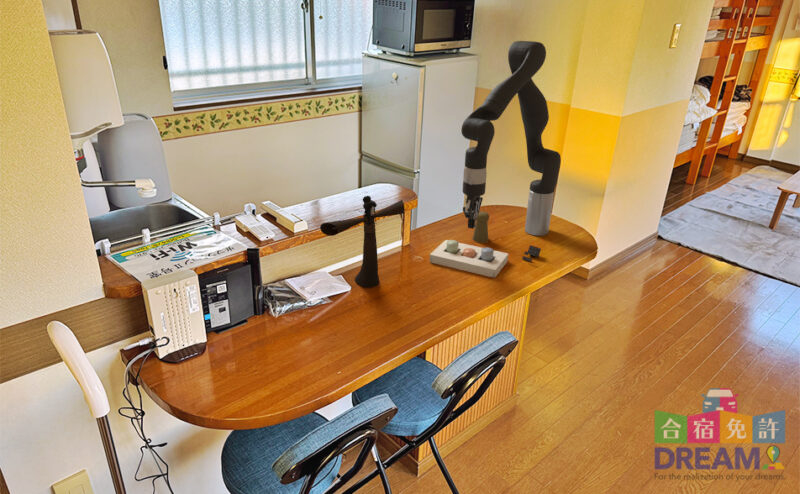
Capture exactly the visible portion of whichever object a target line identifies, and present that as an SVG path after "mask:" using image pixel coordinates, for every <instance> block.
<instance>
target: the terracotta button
mask: <svg viewBox="0 0 800 494" xmlns="http://www.w3.org/2000/svg"><path fill="white" fill-rule="evenodd" d="M475 252H476V251H475V250H474V249H472V248H466V249H464V250H463V255H462V256H465V257H470V258H474V257H475V256H476V255H475Z"/></svg>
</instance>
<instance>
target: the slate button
mask: <svg viewBox="0 0 800 494" xmlns="http://www.w3.org/2000/svg"><path fill="white" fill-rule="evenodd" d="M481 248H482V249H481V258H480V260H483V261H487V262H492V261H493V260H494V259H493V253H494V251H495V250H494V249H493V248H491V247H481Z"/></svg>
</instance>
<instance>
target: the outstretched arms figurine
mask: <svg viewBox="0 0 800 494" xmlns="http://www.w3.org/2000/svg"><path fill="white" fill-rule="evenodd" d="M362 202H363V204H362V207H363V209H364V213H363V216H362V217H356V218H349V219H348V218H347V219H342V220H334V221H329V222H323V223H321V224H320V226H319V229H320V231H321V233H322V234H324V235H326V236H329V237H333V236H336V235H338V234H340V233H342V232H344V231H347V230H349V229H351V228H353V227H356V226H357V225H360V224H361V223H363V245H362V250H363V252H362V262H361V263H362V264H361V267H360V270H359V272H358V273H357V274H356V276H354V281H355V282H356V284H357V285H359V286H360V287H363V288H375V287H377V286H379V285H380V283H381V282H380V278H379V264H378V261H379V260H378V244H377V235H376V230H377V229H376V222H377V218H384V217H389V216H390V217H391V216H397V215H403V214H405V211H406V209H405V202H404V201H403V200H402V199H401V200H399V201H396V202H395V203H393V204H391V205H389V206H387V207H384V208H382V209H381V210H378V211H377V212H376V207H377V204H378V203H377V202H376V201H374V200H373V199H372V198H371V195H364V197H363V198H362Z"/></svg>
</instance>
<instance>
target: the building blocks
mask: <svg viewBox="0 0 800 494" xmlns="http://www.w3.org/2000/svg"><path fill="white" fill-rule="evenodd" d="M541 250H542V248H541V247H537V246H534V245H532V244H530V245H529V247H528V250H527V251H524V253H523V254H524V256H522V260H525V261H527V262H531V263H532V261H533V258H530V257H527V256H529V255H531V256H534V257H537V258H538V257H539V256H540V253H541ZM525 255H526V256H525Z"/></svg>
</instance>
